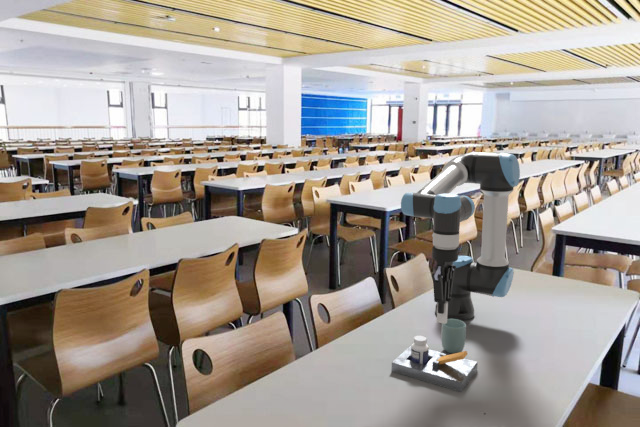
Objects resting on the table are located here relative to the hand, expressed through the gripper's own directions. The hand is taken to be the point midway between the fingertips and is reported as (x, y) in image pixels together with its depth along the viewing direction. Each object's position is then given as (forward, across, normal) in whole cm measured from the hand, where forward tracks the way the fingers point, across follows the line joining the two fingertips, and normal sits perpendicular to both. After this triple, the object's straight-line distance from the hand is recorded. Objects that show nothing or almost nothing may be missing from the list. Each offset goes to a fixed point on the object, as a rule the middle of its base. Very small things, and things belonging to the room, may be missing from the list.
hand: (441, 322), depth 156 cm
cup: (+17, -17, -2) cm, 24 cm away
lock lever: (+12, 0, +3) cm, 12 cm away
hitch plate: (+17, 0, -2) cm, 17 cm away
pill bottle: (+17, 0, -7) cm, 18 cm away
